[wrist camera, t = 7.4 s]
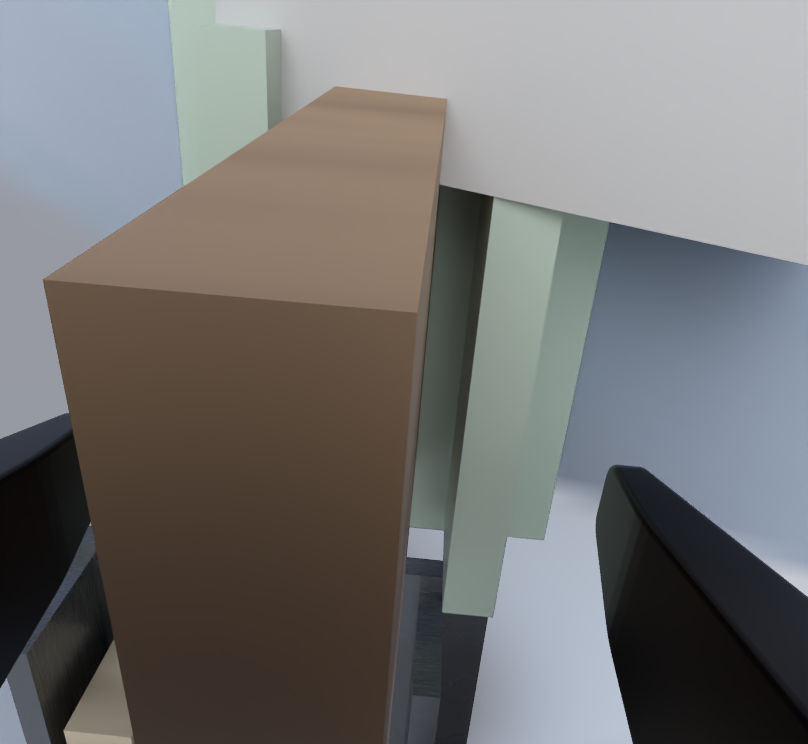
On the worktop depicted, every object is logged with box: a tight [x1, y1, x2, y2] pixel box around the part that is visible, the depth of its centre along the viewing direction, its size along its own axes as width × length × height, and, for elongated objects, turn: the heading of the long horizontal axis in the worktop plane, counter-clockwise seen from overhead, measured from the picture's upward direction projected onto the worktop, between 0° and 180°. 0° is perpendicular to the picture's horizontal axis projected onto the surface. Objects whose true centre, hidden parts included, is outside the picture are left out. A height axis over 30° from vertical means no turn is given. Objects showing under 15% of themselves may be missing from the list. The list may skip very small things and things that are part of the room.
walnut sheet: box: [43, 86, 447, 744], centre depth 9 cm, size 8×2×10 cm, turn 176°
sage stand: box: [168, 0, 610, 617], centre depth 13 cm, size 11×8×4 cm
